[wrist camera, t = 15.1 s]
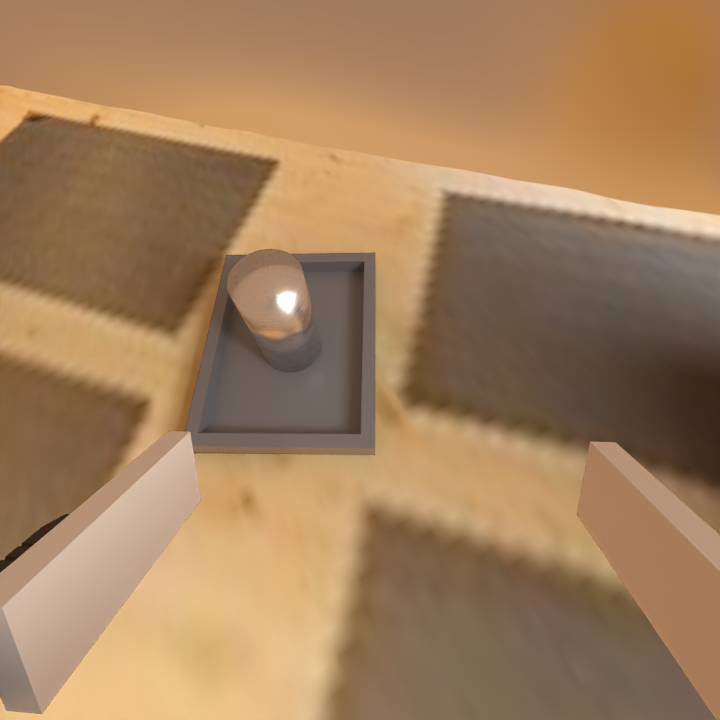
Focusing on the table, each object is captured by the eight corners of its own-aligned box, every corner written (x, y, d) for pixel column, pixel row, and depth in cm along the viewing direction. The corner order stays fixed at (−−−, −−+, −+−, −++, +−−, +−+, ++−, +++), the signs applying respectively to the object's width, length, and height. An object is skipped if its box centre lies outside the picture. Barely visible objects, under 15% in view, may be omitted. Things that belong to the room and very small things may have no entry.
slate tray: (375, 267, 45) (375, 252, 43) (374, 454, 35) (374, 448, 33) (233, 269, 46) (226, 255, 44) (193, 453, 36) (181, 446, 34)
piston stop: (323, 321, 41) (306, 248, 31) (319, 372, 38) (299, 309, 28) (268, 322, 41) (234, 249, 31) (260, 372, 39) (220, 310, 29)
